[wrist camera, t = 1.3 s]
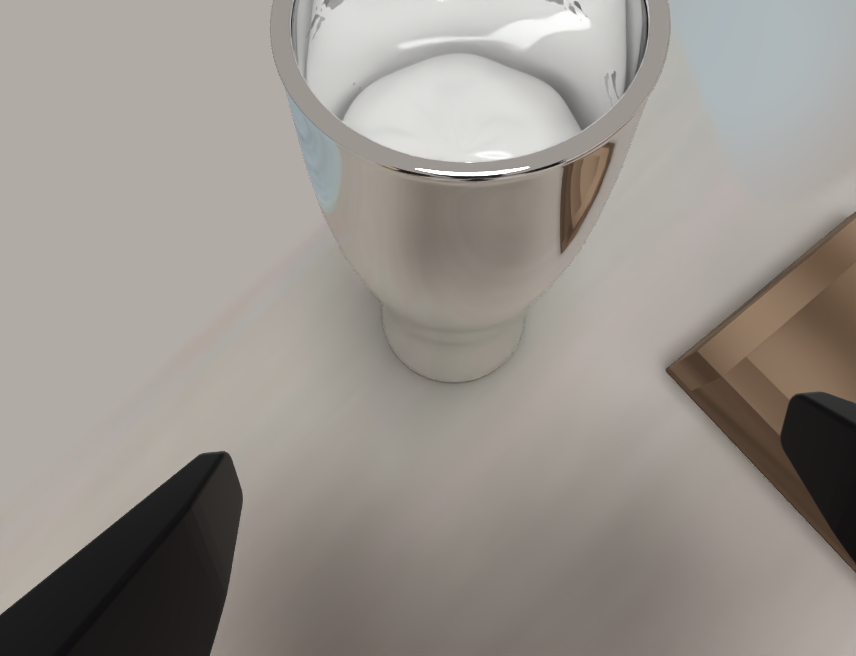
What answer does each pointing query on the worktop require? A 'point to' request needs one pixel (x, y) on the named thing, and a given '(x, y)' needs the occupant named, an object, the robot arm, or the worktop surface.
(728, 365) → the empty pocket
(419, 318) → the beer glass
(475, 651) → the worktop surface
